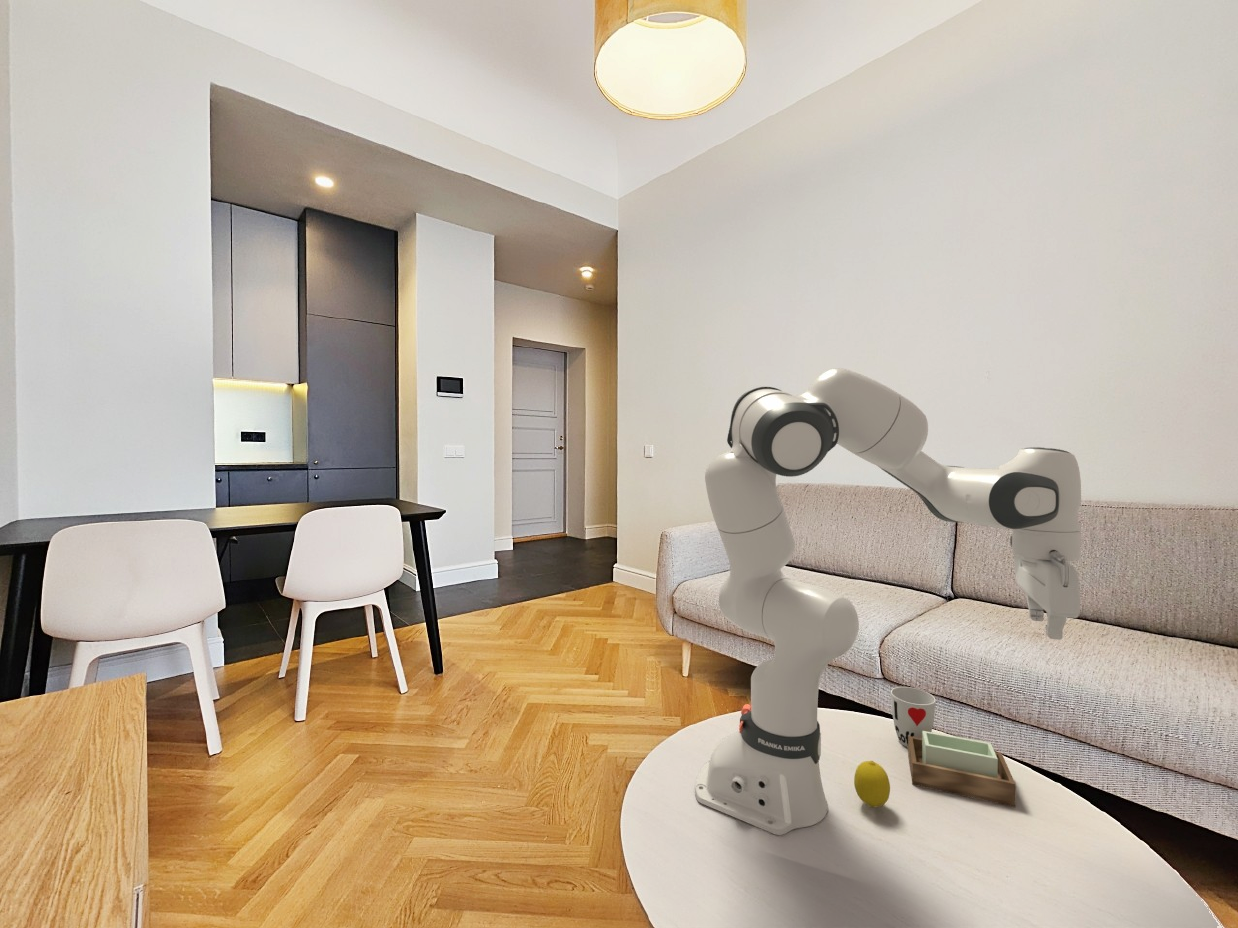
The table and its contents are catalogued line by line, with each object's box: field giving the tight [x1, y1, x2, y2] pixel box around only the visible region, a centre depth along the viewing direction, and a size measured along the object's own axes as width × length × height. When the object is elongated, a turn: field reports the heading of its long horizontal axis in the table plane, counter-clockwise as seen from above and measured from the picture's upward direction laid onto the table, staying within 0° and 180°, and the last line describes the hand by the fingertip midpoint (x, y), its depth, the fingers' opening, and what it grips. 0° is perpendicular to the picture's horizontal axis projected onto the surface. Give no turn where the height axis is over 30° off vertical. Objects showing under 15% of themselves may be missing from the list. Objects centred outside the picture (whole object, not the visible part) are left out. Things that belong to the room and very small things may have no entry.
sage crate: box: [922, 731, 998, 778], centre depth 98 cm, size 11×6×6 cm, turn 66°
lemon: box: [853, 760, 891, 809], centre depth 91 cm, size 6×6×8 cm
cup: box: [890, 686, 936, 748], centre depth 110 cm, size 8×8×10 cm
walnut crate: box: [907, 736, 1017, 808], centre depth 98 cm, size 15×10×4 cm, turn 65°
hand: (1044, 628), depth 88 cm, fingers open, 8 cm apart
